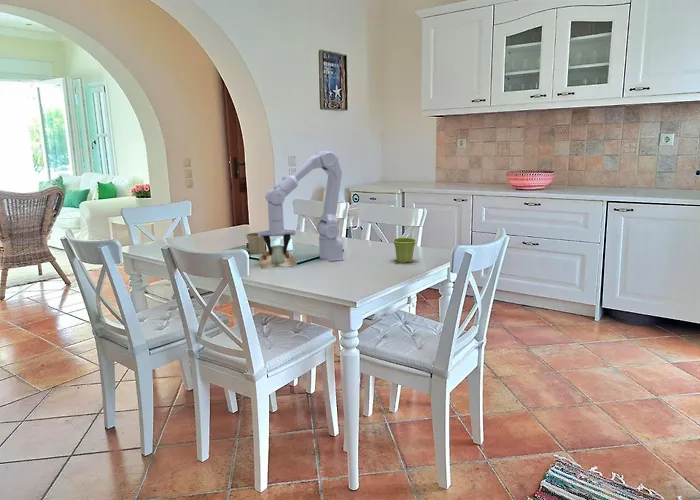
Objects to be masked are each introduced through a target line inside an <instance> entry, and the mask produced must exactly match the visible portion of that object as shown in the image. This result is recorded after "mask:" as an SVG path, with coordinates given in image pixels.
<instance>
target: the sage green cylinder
mask: <svg viewBox="0 0 700 500" xmlns="http://www.w3.org/2000/svg"><path fill="white" fill-rule="evenodd" d="M284 262H285V261H284V245H282V244H281V245H277V244H275V245H271V263H272V264H282V263H284Z"/></svg>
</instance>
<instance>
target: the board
mask: <svg viewBox="0 0 700 500" xmlns="http://www.w3.org/2000/svg"><path fill="white" fill-rule="evenodd" d="M258 260H259V264H260V269H261V270H262V269H273V268H288V267H298V263H297V262H296V260H295V257H294V256H293V253H292V252H291V253H289V251H288V249H287V250H286V254H284V261H285V262H284V263H282V264H272V263H271V255H269V250H265V251H263V253H262V254H261V255H260V254H259V255H258Z"/></svg>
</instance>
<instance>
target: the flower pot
mask: <svg viewBox="0 0 700 500" xmlns="http://www.w3.org/2000/svg"><path fill="white" fill-rule="evenodd" d="M245 237H246V239H247V243H248V244H247V245H248V248H249V252H250V254H254V255H258V254H259V255H260V254H263V251H266V245H267V244H266V242H265V240H264V238H263V237H258V232H249V233H246V234H245Z"/></svg>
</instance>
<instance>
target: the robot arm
mask: <svg viewBox="0 0 700 500" xmlns="http://www.w3.org/2000/svg"><path fill="white" fill-rule="evenodd" d="M341 168H342V167H341V165H340V162H339V157H338V156H337V155H336V154H335V153H334V152H333V151H331V150H318V151H316V152H315V153H314V154H312V155H310V156H309V158H308V159H307V160H306V161H305V162H303V164H302V165H301V166H300V167H299V168H298V169H297V170H295V172H294V173H293V174H291V175H290V174H287V175H286V176H282V177H281V181H279V182H278V183H277V184H274V185H273V186H272V187H273V188H270V189H268V190H267V192H266V195H265V200H266V202H267V213H268V215H267V218H268V230H263V231H257V233H258V237H263V238H264V240H265V242H266V244H265V245H266V246H267V249H268V251H269V255H271V246H272V245H271V237H283V238H282V239H283V246H284V254H286V250H287V251H288V249H287V248H288V246H289V243H290V240H291V238H292V237H291V236H296V235H297V234H296V229H285V228H284V226H285V225H284V224H285V223H284V208H283V203H284V202H285V200H286V199H285V198H286V197H288V195H290V194H291V193H292V192H293V191H294V190H295V189H296V188H297V187H298V184H299V182H300V181H301V180H302V179H303V178H304V177H305V176H306V175H308V174H310V173H311V172H312V171H313V170H314V169H322V170H323V171H324V172H325V173H326V175H327V181H326V189H325V197H324V204H323V211H322V215H321V216H320V218H319V222H318V223H317V225H316V232H317V233H318V234H319V236H318V246H319V259H321V260H324V261H325V260H327V261H328V262H333V261H335V262H337V261H344V252H343V249H344V248H343V247H344V245H343V239H342V237H338V235H339V232H340V228H339V226H338V225H339V221H338V217H337V216H336V215H337V209H338V203H339V195H340V188H341V181H342V175H343V174H342V172H343V171H342V169H341Z"/></svg>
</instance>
